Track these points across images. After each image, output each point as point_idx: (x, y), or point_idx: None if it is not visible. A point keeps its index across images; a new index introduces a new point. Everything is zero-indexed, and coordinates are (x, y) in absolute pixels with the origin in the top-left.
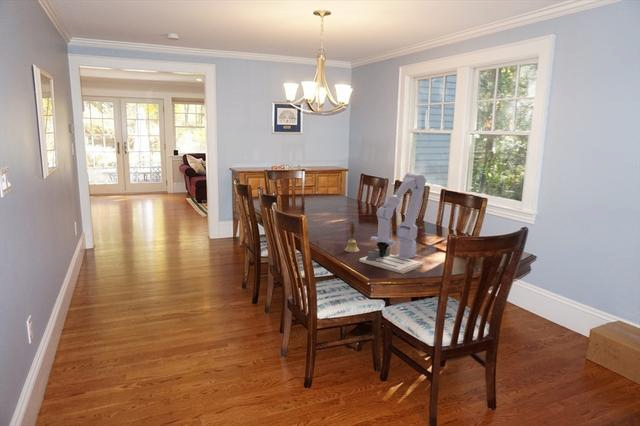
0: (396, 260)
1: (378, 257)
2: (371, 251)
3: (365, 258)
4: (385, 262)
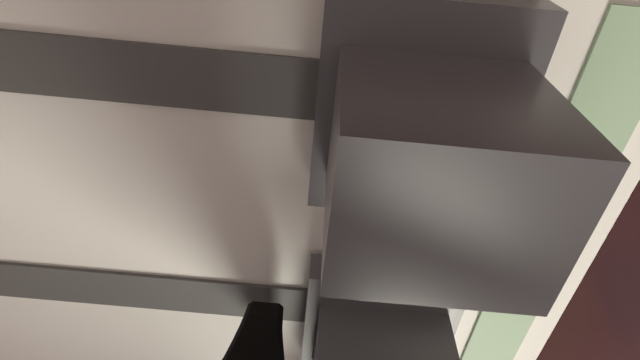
0: (24, 333)
1: (311, 266)
2: (483, 283)
3: (585, 72)
4: (20, 127)
